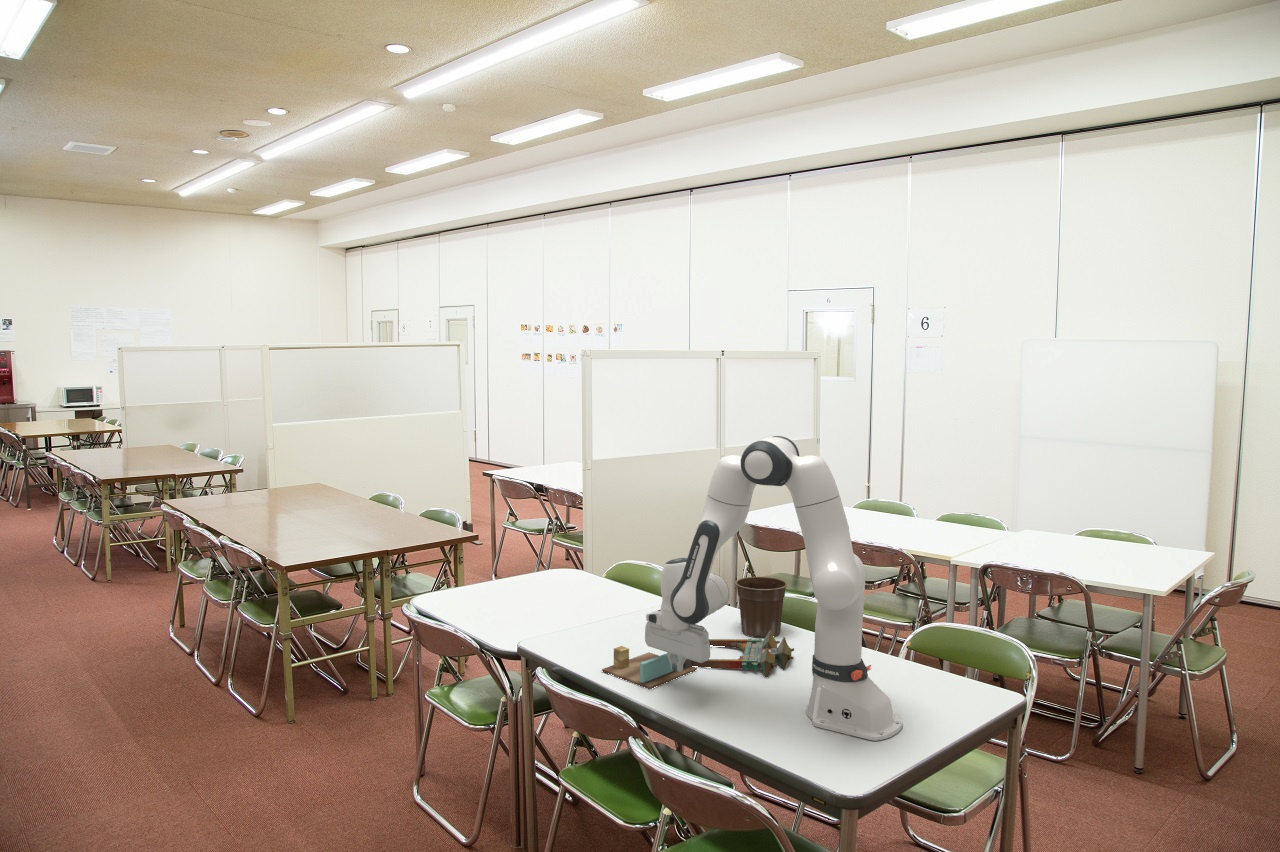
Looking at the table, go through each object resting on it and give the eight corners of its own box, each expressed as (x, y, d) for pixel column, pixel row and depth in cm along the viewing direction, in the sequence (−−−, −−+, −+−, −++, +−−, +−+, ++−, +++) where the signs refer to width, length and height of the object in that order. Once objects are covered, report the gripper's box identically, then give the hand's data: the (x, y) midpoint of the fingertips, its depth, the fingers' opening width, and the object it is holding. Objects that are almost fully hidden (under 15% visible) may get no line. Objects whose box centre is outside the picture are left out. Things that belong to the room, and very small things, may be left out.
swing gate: (683, 668, 230) (683, 649, 229) (644, 683, 218) (644, 663, 218) (678, 666, 231) (678, 647, 231) (639, 682, 220) (639, 661, 219)
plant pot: (723, 631, 265) (724, 581, 264) (756, 621, 276) (757, 573, 275) (763, 644, 253) (764, 592, 252) (796, 633, 264) (797, 583, 263)
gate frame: (696, 670, 231) (697, 638, 230) (649, 689, 217) (650, 655, 216) (649, 654, 243) (649, 624, 242) (602, 671, 229) (602, 639, 229)
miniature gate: (695, 629, 256) (794, 629, 250) (696, 647, 256) (795, 647, 250) (681, 659, 230) (792, 660, 224) (683, 679, 230) (793, 680, 224)
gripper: (715, 625, 215) (715, 677, 216) (657, 608, 229) (656, 657, 230) (700, 630, 210) (699, 683, 211) (641, 613, 224) (640, 663, 225)
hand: (676, 670), depth 221 cm, fingers closed
